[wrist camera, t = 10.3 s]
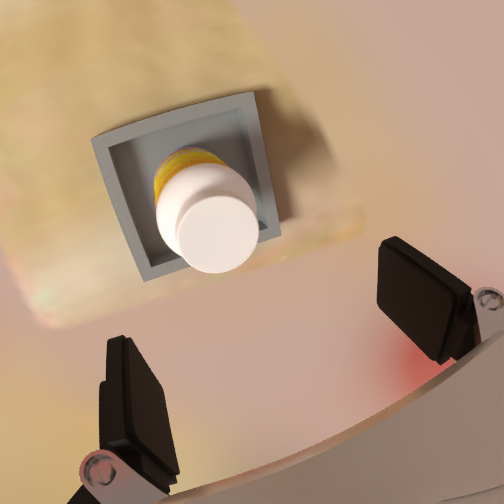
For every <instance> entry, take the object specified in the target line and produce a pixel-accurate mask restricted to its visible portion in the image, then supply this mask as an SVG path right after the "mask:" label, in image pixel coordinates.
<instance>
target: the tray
mask: <svg viewBox="0 0 504 504" xmlns="http://www.w3.org/2000/svg"><path fill="white" fill-rule="evenodd" d="M91 142H92V146H93V149H94V152H95V155H96V158H97V161H98V165H99V168H100V171H101V174H102V176H103V179H104V182H105V185H106V188H107V191H108V194H109V196H110V199H111V202H112V205H113V207H114V210H115V213H116V215H117V218H118V221H119V223H120V226H121V228H122V231H123V233H124V236H125V238H126V241H127V243H128V246H129V248H130V251H131V253H132V256H133V258H134V260H135V263H136V265H137V267H138V270H139V272H140V274H141V276H142V279H143V281H144V282H146V281H149V280H152V279H155V278H157V277H160V276H163V275H166V274H169V273H172V272H175V271H178V270H181V269H184V268H187V267H190V266H191V265H189V264H188V263H187V262H186V261H185V259H184V258H183V257H182V256H180V255H178V254H177V253H175V252H174V251H173V250H172V249H171V248H170V247H169V246H168V245H167V244H166V243H165V241H164V240H163V238H162V236H161V234H160V232H159V229H158V225H157V218H156V208H155V199H154V188H153V184H154V176H155V173H156V170H157V168H158V166H159V165H160V163H161V162H162V161H163V159H164V158H165V157H166V156H168V155H169V154H170V153H172V152H174V151H176V150H178V149H181V148H185V147H198V148H202V149H205V150H207V151H209V152H211V153H213V154H214V155H215V156H217V157H218V158H219V159H220V160H222V161H223V162H224V163H225V164H227V165H228V166H229V167H231V168H232V169H233V170H234V171H236V172H237V173H238V174H240V175H241V176H242V177H243V178H244V179H245V180H246V182H247V183H248V184H249V186H250V188H251V189H252V192H253V194H254V197H255V201H256V207H257V213H256V217H257V220H258V224H259V238H258V242H257V243H260V242H263V241H266V240H269V239H272V238H275V237H278V236H281V230H280V224H279V219H278V213H277V208H276V202H275V197H274V192H273V186H272V181H271V176H270V171H269V166H268V161H267V156H266V150H265V145H264V140H263V136H262V131H261V126H260V121H259V116H258V111H257V107H256V102H255V97H254V92H253V91H252V92H244V93H239V94H235V95H230V96H226V97H221V98H217V99H213V100H209V101H205V102H201V103H197V104H193V105H189V106H186V107H182V108H179V109H175V110H172V111H168V112H165V113H162V114H158V115H155V116H152V117H149V118H146V119H143V120H140V121H137V122H134V123H131V124H128V125H125V126H122V127H119V128H117V129H114V130H111V131H108V132H106V133H103V134H101V135H98V136H95V137H94V138H92V139H91Z"/></svg>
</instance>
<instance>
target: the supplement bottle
mask: <svg viewBox="0 0 504 504" xmlns="http://www.w3.org/2000/svg"><path fill="white" fill-rule="evenodd" d="M153 188H154V199H155V208H156V218H157V225H158V229H159V232H160V234H161V236H162V238H163V240H164V241H165V243H166V244H167V245H168V246H169V247H170V248H171V249H172V250H173V251H174V252H175V253H177V254H178V255H180V256H182V257H183V258H184V259H185V261H186V262H187V263H188V264H189V265H191V266H192V267H194V268H195V269H197V270H200V271H203V272H207V273H222V272H227V271H230V270H232V269H234V268H236V267H238V266H240V265H241V264H242V263H244V262H245V261H246V260H247V259H248V258H249V257H250V255H251V254H252V253H253V251H254V249H255V247H256V245H257V242H258V238H259V224H258V220H257V217H256V213H257V207H256V201H255V197H254V194H253V192H252V189H251V188H250V186H249V184H248V183H247V182H246V180H245V179H244V178H243V177H242V176H241V175H240V174H238V173H237V172H236V171H234V170H233V169H232V168H231V167H229V166H228V165H227V164H225V163H224V162H223V161H222V160H220V159H219V158H218V157H217V156H215V155H214V154H213V153H211V152H209V151H207V150H205V149H202V148H198V147H185V148H181V149H178V150H176V151H174V152H172V153H170V154H169V155H168V156H166V157H165V158H164V159H163V161H162V162H161V163H160V165H159V166H158V168H157V170H156V173H155V176H154V184H153Z"/></svg>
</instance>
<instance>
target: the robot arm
mask: <svg viewBox="0 0 504 504" xmlns="http://www.w3.org/2000/svg"><path fill="white" fill-rule="evenodd" d="M378 253H379V254H378V285H377V304H378V306H379V308H380V309H381V310H382V311H383V312H384V313H385V314H386V315H387V316H388V317H389V318H390V319H391V320H392V321H393V322H394V323H395V324H396V325H397V326H398V327H399V328H400V329H401V330H402V331H403V332H404V333H405V334H406V335H407V336H408V337H409V338H410V339H411V340H412V341H413V342H414V343H415V344H416V345H417V346H418V347H419V348H420V349H421V350H422V351H423V352H424V353H425V354H426V355H427V356H428V357H429V358H430V359H431V360H433V361H436V362H437V363H438V364H439V365H442V364H443V363H445V362H446V361H447V360H449V358H450V357H452V358H453V359H454V364H453V365H451V366H450V367H448V368H447V369H446V370H444V371H443V372H441V373H440V374H439V375H437V376H436V377H434V378H433V379H431V380H430V381H428V382H427V383H425V384H424V385H422V386H421V387H420V388H418V389H416V390H415V391H413V392H412V393H410V394H408V395H407V396H405V397H404V398H402V399H401V400H399V401H397V402H396V403H394V404H392V405H390V406H389V407H387V408H385V409H384V410H382V411H380V412H378V413H377V414H375V415H373V416H371V417H370V418H368V419H366V420H364V421H362V422H360V423H358V424H356V425H355V426H353V427H351V428H349V429H347V430H345V431H343V432H341V433H339V434H337V435H335V436H333V437H331V438H328V439H326V440H324V441H322V442H320V443H318V444H316V445H313V446H311V447H309V448H307V449H304V450H302V451H300V452H297V453H295V454H293V455H290V456H288V457H285V458H283V459H280V460H277V461H275V462H272V463H270V464H267V465H264V466H261V467H259V468H256V469H253V470H250V471H247V472H245V473H242V474H239V475H236V476H233V477H230V478H226V479H223V480H220V481H217V482H214V483H210V484H207V485H203V486H200V487H197V488H193V489H190V490H187V491H183V492H180V493H177V494H174V495H169V494H168V493H169V492H170V487H169V485H172V484H176V483H177V479H176V475H178V474H180V471H179V466H178V462H177V457H176V453H175V448H174V444H173V438H172V434H171V428H170V424H169V418H168V413H167V407H166V401H165V396H164V391H163V388H162V386H161V384H160V383H159V381H158V380H157V378H156V377H155V375H154V374H153V372H152V371H151V369H150V368H149V366H148V364H147V363H146V361H145V360H144V358H143V357H142V355H141V353H140V352H139V350H138V348H137V347H136V345H135V344H134V342H133V340H132V339H131V338H130V337H129V338H126V337H125V336H124V335H121V336H118V337H115V338H111V339H109V340H108V341H107V355H106V356H107V357H106V381H102V382H101V383H100V387H99V442H100V450H96V451H94V452H91V453H90V454H89V455H87V456H86V457H85V458H84V460H83V461H82V463H81V466H80V471H79V475H80V479H81V482H82V483H83V485H82V486H81V487H80V488H79V490H78V491H77V492H76V493H75V494H74V496H73V497H72V498H71V499H70V500H69V502H68V503H67V504H504V294H503V293H502V292H500V291H499V290H497V289H495V288H490V287H482V288H480V289H478V290H477V291H475V294H474V295H472V294H471V288H470V287H469V286H468V285H467V284H465V283H464V282H463V281H461V280H460V279H458V278H457V277H456V276H454V275H453V274H451V273H450V272H449V271H447V270H446V269H444V268H443V267H442V266H440V265H439V264H437V263H436V262H434V261H433V260H431V259H430V258H429V257H427V256H426V255H424V254H423V253H421V252H420V251H418V250H417V249H415V248H414V247H412V246H411V245H409V244H408V243H406V242H405V241H403V240H402V239H400V238H399V237H397V236H394V237H391V238H388V239H386V240H384V241H382V243H381V246H380V247H379V252H378Z"/></svg>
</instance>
